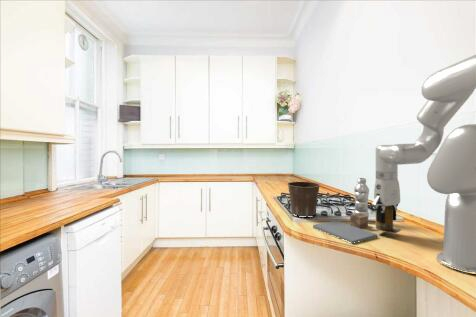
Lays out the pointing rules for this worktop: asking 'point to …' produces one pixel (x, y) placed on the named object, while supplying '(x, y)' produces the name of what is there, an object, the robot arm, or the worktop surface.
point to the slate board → (345, 231)
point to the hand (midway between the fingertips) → (386, 220)
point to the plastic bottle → (361, 197)
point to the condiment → (386, 221)
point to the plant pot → (303, 198)
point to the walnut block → (359, 220)
